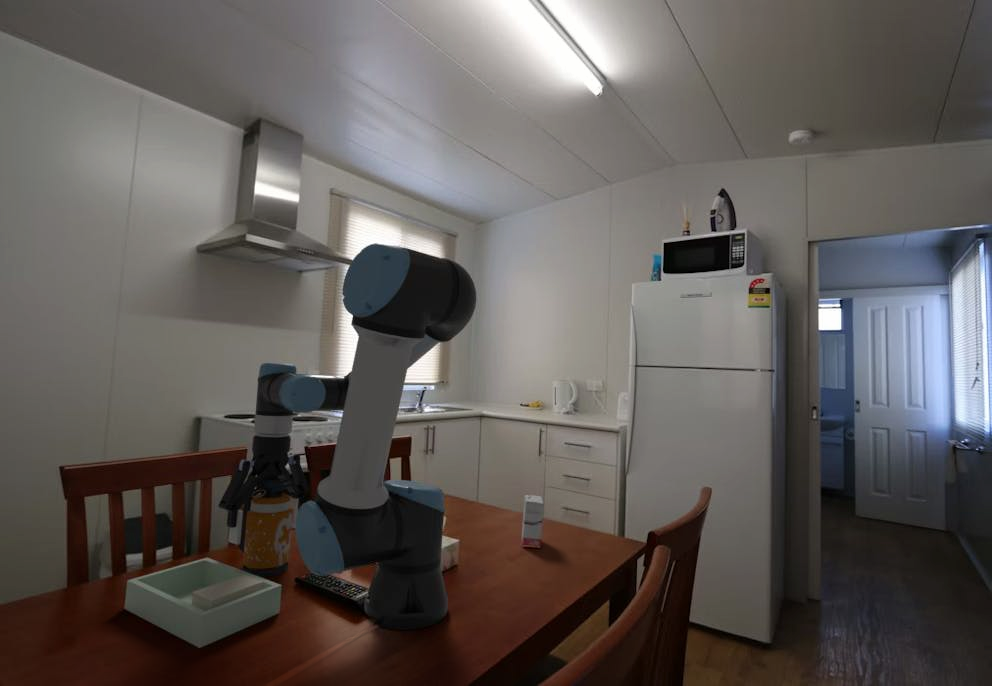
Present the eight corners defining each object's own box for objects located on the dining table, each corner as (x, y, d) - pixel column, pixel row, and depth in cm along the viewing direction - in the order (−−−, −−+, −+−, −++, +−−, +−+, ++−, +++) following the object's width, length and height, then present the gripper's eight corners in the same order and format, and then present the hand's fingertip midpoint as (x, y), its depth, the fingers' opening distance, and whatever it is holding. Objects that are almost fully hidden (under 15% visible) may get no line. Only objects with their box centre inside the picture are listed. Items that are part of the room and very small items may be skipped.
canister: (270, 583, 102) (279, 482, 104) (223, 576, 104) (231, 477, 106) (296, 567, 111) (304, 474, 112) (252, 561, 113) (259, 470, 115)
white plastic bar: (260, 615, 87) (262, 581, 88) (207, 637, 79) (211, 600, 80) (241, 607, 90) (244, 574, 90) (188, 627, 82) (191, 592, 82)
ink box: (541, 549, 132) (544, 502, 133) (522, 548, 132) (524, 501, 133) (539, 538, 140) (541, 495, 141) (521, 537, 140) (523, 494, 141)
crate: (279, 617, 88) (281, 585, 89) (199, 653, 76) (202, 615, 77) (204, 586, 99) (207, 557, 99) (123, 613, 87) (127, 580, 87)
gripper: (307, 429, 122) (299, 518, 121) (205, 436, 101) (195, 546, 99) (329, 432, 119) (322, 524, 117) (228, 441, 97) (218, 554, 96)
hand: (263, 534), depth 108 cm, fingers open, 13 cm apart
